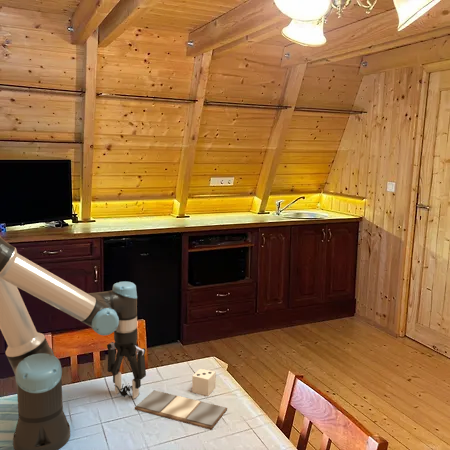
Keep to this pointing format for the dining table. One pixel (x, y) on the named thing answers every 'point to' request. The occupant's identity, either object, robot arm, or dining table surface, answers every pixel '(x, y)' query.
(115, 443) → the dining table surface
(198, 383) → the die
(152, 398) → the board
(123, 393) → the creature
